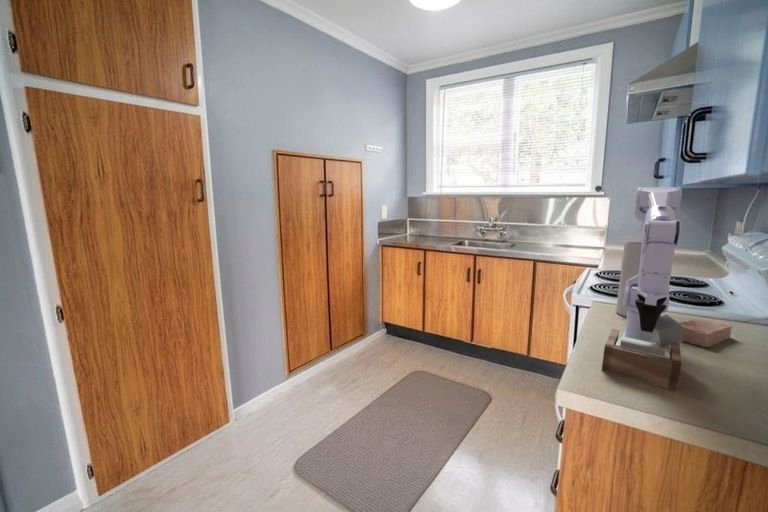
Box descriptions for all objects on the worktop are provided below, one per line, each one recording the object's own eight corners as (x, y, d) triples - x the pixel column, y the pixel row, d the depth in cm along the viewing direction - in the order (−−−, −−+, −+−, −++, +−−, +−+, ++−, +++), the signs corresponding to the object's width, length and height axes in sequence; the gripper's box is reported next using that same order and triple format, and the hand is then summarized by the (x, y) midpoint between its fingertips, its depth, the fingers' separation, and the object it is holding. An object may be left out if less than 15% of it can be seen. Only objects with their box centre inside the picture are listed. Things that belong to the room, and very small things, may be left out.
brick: (695, 329, 107) (698, 314, 107) (731, 338, 100) (734, 323, 99) (669, 339, 100) (671, 323, 99) (705, 350, 93) (708, 333, 92)
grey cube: (648, 336, 85) (645, 321, 83) (669, 330, 84) (666, 314, 82) (661, 347, 81) (658, 331, 79) (684, 341, 80) (681, 324, 78)
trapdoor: (619, 339, 89) (620, 331, 88) (668, 350, 82) (669, 341, 82) (614, 349, 80) (616, 339, 79) (669, 362, 73) (670, 352, 73)
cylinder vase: (618, 317, 116) (627, 245, 112) (613, 307, 127) (621, 241, 123) (664, 324, 111) (676, 247, 107) (655, 313, 122) (665, 243, 118)
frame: (609, 350, 91) (612, 329, 90) (675, 366, 82) (679, 342, 81) (601, 370, 80) (604, 346, 79) (676, 390, 72) (681, 364, 71)
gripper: (636, 265, 88) (629, 315, 90) (631, 274, 77) (624, 331, 79) (671, 268, 83) (663, 322, 86) (672, 279, 72) (663, 339, 75)
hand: (647, 327), depth 82 cm, fingers open, 6 cm apart
